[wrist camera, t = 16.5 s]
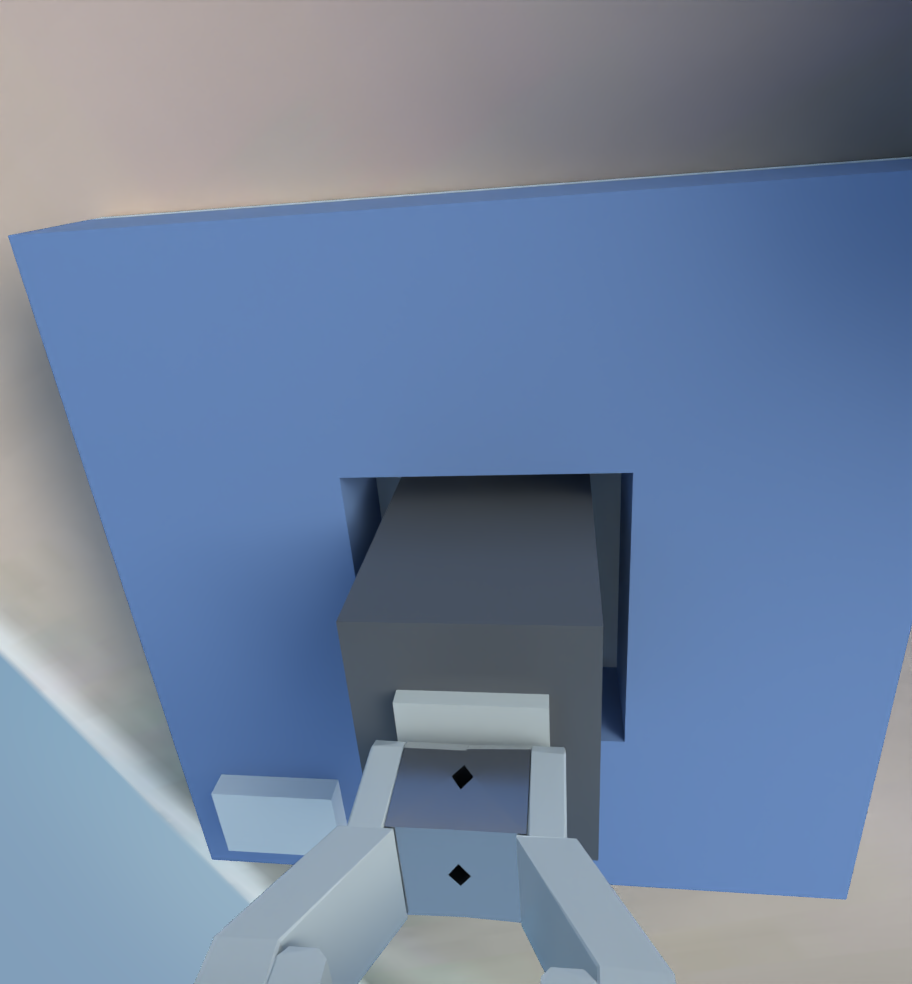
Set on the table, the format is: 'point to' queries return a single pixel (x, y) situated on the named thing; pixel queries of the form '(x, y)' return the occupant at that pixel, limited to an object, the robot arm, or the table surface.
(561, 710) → the plug
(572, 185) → the socket
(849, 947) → the table surface
